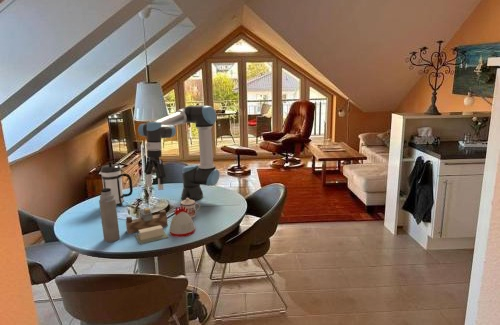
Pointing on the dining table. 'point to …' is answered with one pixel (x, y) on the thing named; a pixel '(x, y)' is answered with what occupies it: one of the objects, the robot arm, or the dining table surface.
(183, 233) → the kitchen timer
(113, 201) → the thermos bottle
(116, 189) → the coffee press
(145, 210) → the lever cap
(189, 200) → the teacup with lid
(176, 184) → the dining table surface
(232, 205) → the dining table surface
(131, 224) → the hand plane
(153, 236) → the butter dish
